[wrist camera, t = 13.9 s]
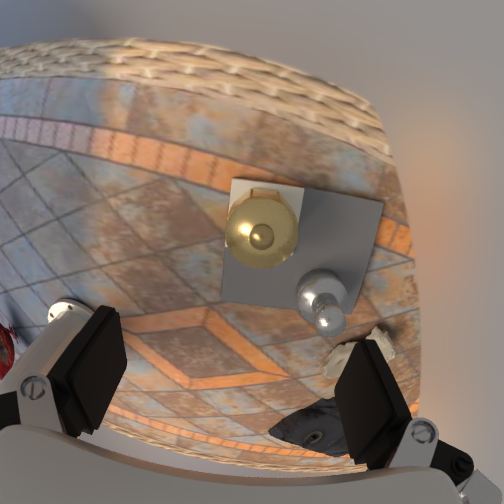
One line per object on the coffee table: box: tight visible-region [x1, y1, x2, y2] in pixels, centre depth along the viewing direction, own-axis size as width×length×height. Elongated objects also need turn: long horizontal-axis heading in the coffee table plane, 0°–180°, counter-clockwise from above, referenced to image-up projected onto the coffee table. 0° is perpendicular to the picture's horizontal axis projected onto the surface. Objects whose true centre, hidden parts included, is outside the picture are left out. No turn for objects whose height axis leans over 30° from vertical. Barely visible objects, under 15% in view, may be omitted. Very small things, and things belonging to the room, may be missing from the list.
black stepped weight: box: [268, 397, 349, 457], centre depth 43 cm, size 15×22×5 cm
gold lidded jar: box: [225, 187, 298, 268], centre depth 25 cm, size 6×6×6 cm
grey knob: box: [296, 268, 349, 337], centre depth 28 cm, size 5×5×7 cm
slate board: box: [220, 177, 384, 314], centre depth 30 cm, size 14×16×1 cm
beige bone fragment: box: [321, 326, 398, 379], centre depth 34 cm, size 6×10×4 cm, turn 129°
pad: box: [225, 178, 304, 255], centre depth 28 cm, size 7×7×1 cm
